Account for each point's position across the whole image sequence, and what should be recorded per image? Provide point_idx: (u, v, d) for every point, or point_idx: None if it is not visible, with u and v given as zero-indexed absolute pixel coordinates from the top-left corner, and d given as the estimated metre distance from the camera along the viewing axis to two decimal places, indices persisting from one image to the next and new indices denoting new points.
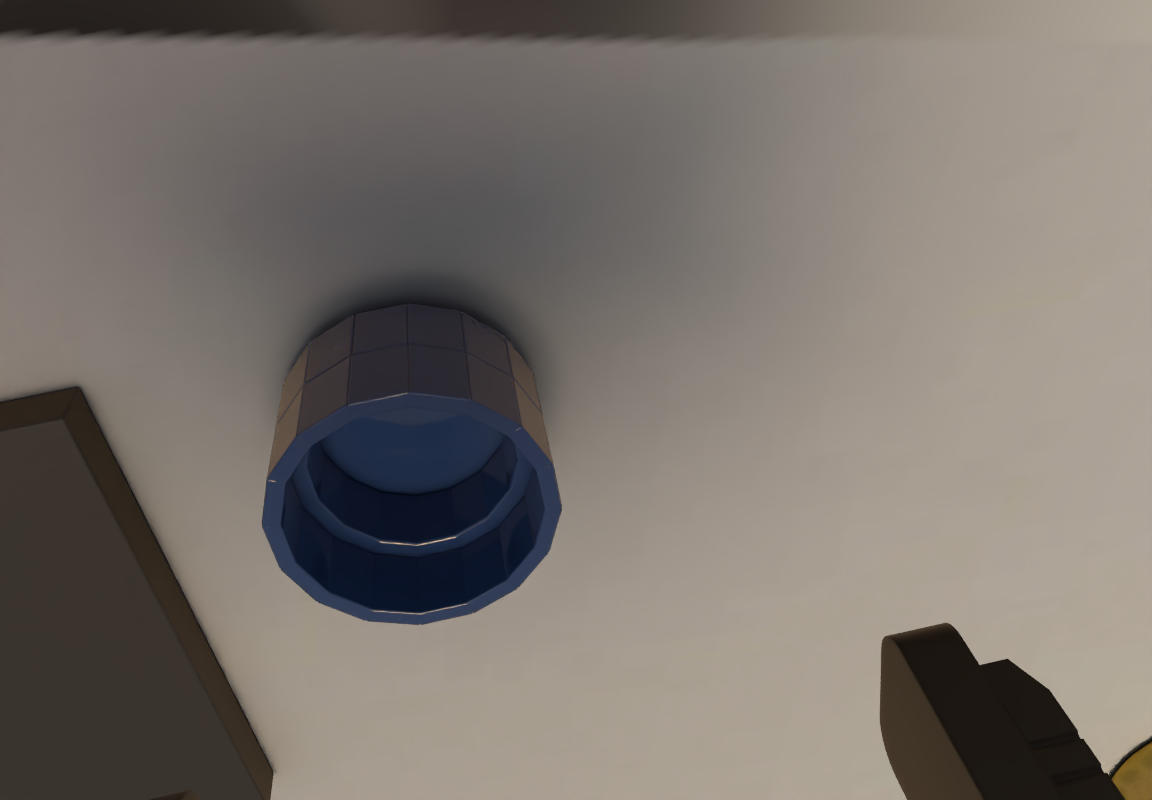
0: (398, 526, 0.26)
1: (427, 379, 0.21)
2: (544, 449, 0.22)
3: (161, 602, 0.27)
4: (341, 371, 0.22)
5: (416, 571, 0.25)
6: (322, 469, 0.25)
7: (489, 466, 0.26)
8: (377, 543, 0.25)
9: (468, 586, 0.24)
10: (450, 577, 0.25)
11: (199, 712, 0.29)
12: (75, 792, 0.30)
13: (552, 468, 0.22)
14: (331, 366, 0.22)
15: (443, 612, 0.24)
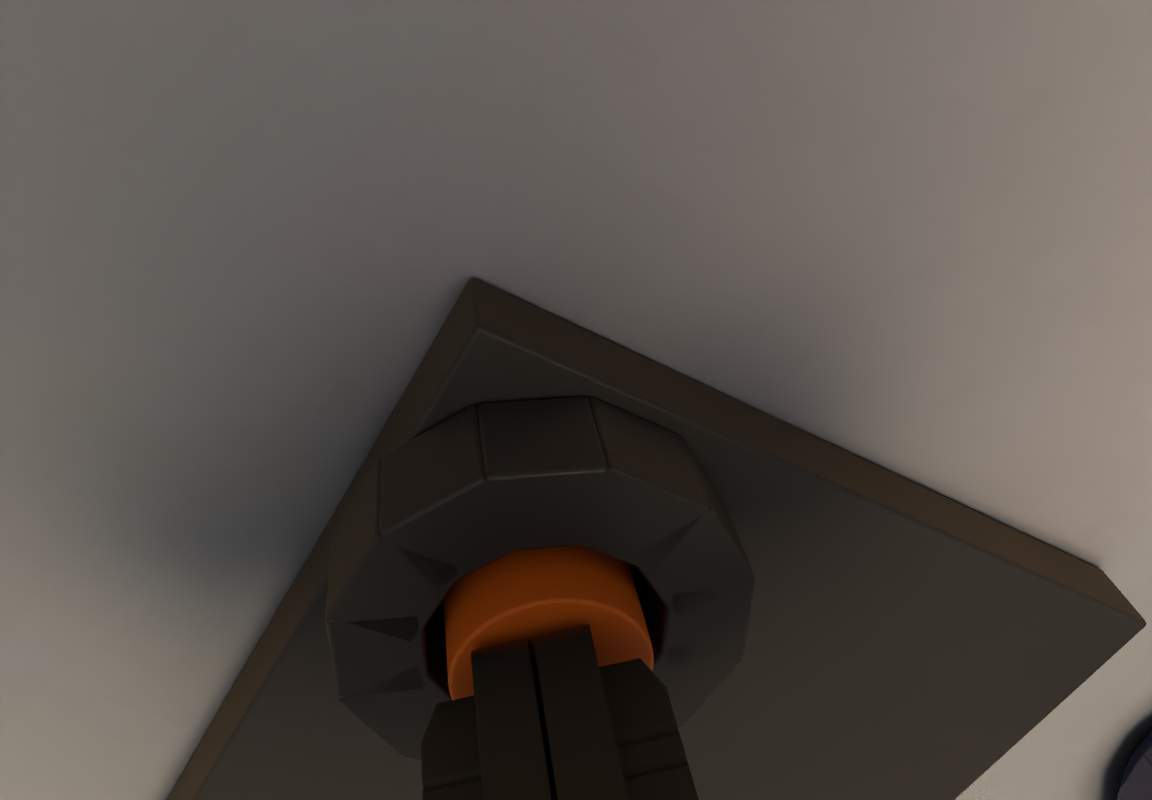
0: None
1: None
2: None
3: None
4: None
5: None
6: None
7: None
8: None
9: None
10: None
11: None
12: None
13: None
14: None
15: None
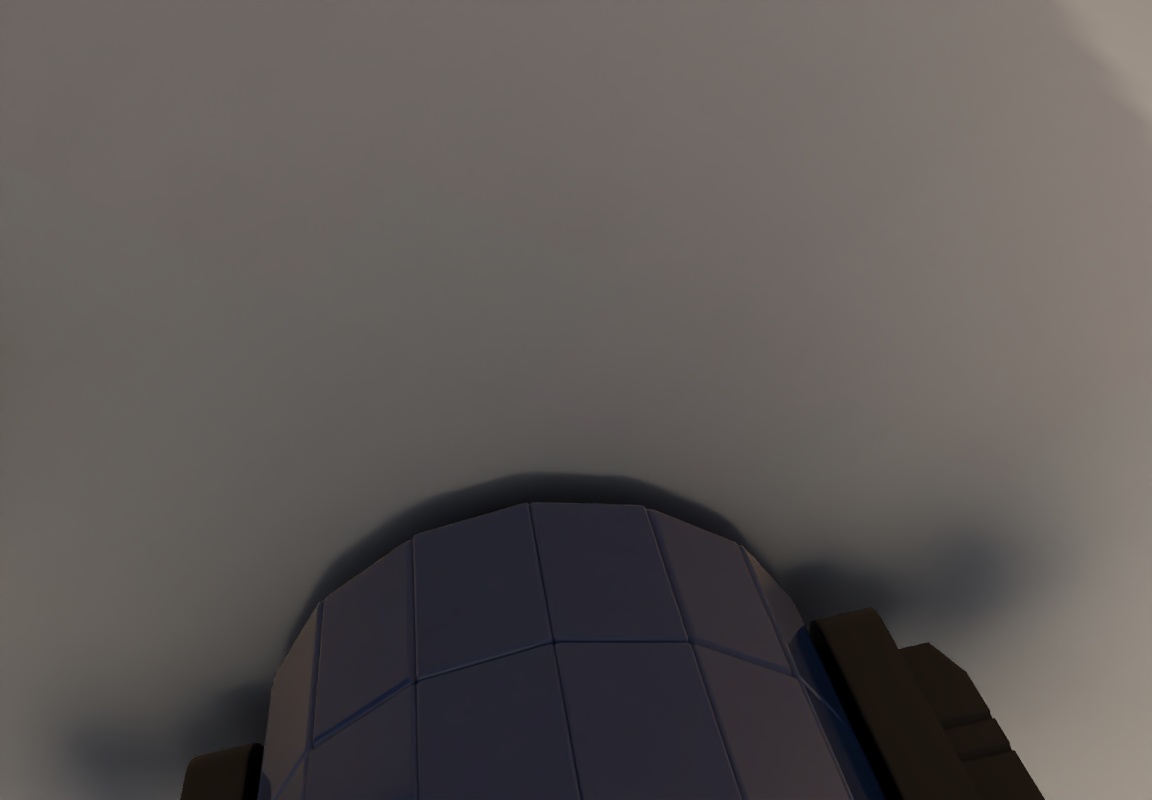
0: None
1: None
2: None
3: None
4: (679, 679, 0.09)
5: None
6: None
7: None
8: None
9: None
10: None
11: None
12: None
13: None
14: (636, 638, 0.09)
15: None
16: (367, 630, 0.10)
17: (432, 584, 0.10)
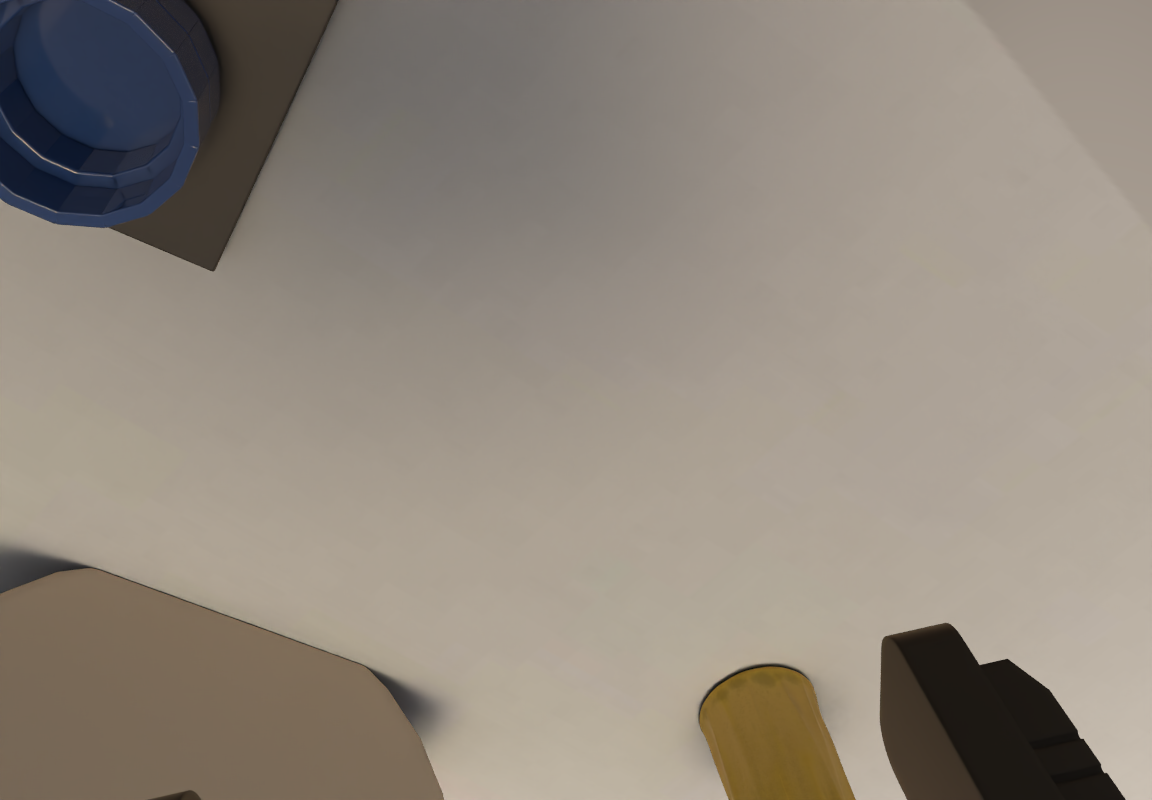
0: (34, 136, 0.29)
1: (152, 19, 0.26)
2: (200, 133, 0.27)
3: (325, 27, 0.30)
4: None
5: (26, 173, 0.29)
6: (5, 49, 0.28)
7: (137, 151, 0.31)
8: (10, 132, 0.28)
9: (65, 205, 0.28)
10: (54, 192, 0.28)
11: (256, 141, 0.32)
12: None
13: (196, 150, 0.27)
14: None
15: (33, 205, 0.27)
16: None
17: None
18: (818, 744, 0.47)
